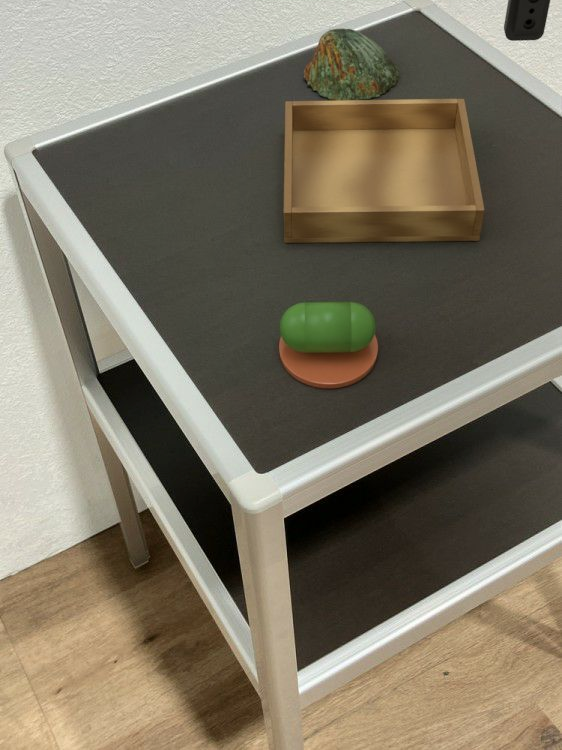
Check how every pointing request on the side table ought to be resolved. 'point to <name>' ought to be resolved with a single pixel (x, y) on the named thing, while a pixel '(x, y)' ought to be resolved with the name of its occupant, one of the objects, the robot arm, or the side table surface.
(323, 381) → the plate
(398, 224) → the wooden tray
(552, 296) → the side table surface
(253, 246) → the side table surface
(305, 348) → the cucumber
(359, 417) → the side table surface
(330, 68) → the seashell
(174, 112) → the side table surface
